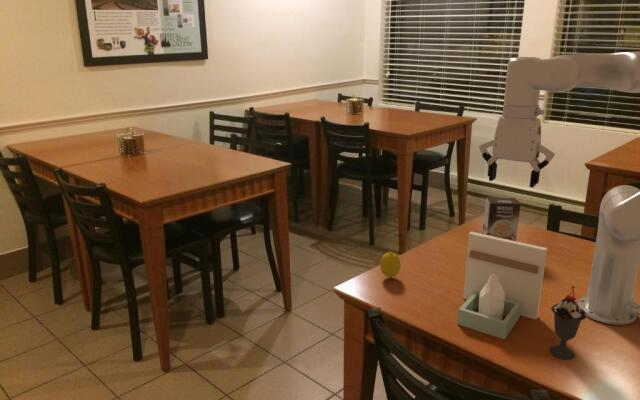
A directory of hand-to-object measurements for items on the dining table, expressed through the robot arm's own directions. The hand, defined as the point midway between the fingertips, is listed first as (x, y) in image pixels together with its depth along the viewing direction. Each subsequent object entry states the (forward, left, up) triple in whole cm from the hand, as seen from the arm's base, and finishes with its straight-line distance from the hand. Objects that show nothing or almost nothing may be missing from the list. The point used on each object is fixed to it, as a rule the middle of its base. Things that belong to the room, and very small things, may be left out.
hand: (512, 182), depth 127 cm
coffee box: (+10, -29, -31) cm, 43 cm away
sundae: (-19, +18, -31) cm, 40 cm away
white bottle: (-2, +14, -31) cm, 34 cm away
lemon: (+28, +8, -31) cm, 42 cm away
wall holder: (-2, +13, -30) cm, 33 cm away
